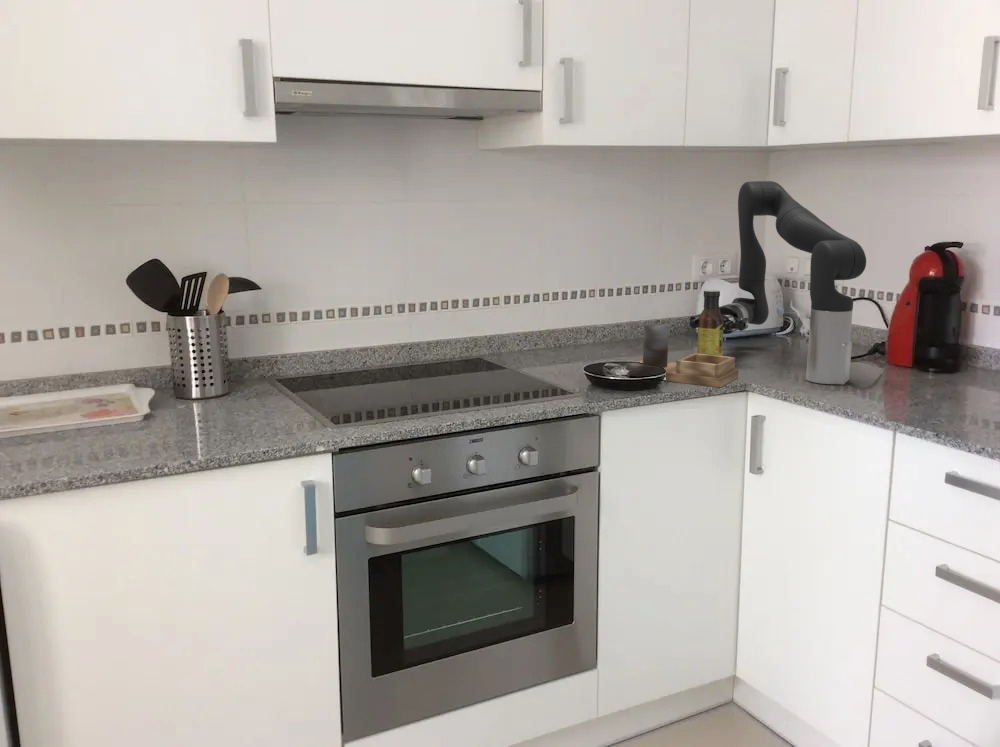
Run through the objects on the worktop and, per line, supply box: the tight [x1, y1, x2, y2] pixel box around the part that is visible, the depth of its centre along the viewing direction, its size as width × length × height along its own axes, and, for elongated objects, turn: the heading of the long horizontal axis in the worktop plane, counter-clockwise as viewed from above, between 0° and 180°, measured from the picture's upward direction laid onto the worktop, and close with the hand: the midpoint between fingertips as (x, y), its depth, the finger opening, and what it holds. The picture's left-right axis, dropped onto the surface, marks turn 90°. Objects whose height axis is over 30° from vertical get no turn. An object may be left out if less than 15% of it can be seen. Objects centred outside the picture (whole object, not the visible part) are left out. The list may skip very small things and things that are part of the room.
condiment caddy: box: [636, 323, 739, 388], centre depth 216 cm, size 25×13×12 cm, turn 58°
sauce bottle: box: [696, 289, 724, 356], centre depth 226 cm, size 6×6×20 cm
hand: (709, 325), depth 225 cm, fingers open, 8 cm apart
